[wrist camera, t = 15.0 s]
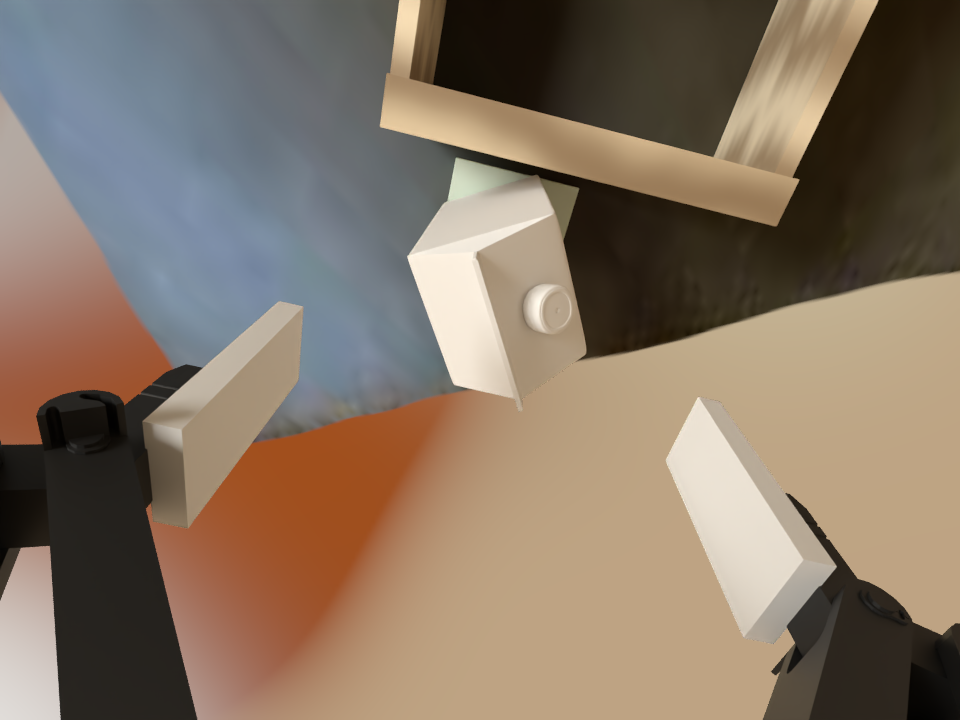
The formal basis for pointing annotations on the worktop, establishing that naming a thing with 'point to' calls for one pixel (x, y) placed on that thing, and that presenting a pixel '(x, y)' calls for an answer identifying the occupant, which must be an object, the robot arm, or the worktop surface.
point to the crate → (637, 162)
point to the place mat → (484, 177)
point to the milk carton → (500, 290)
